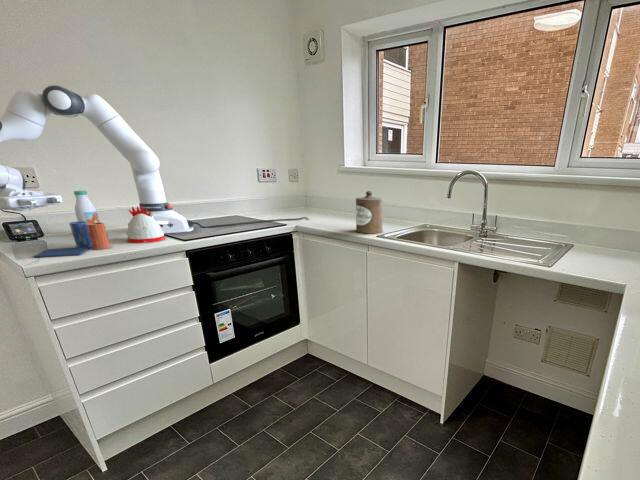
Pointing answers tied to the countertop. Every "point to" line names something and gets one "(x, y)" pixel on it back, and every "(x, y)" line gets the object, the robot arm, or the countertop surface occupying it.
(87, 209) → the milk bottle
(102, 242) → the terracotta cup
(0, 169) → the robot arm
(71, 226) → the blue cup
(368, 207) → the wooden container
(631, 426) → the countertop surface
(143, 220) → the white crested dome
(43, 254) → the blue mat
